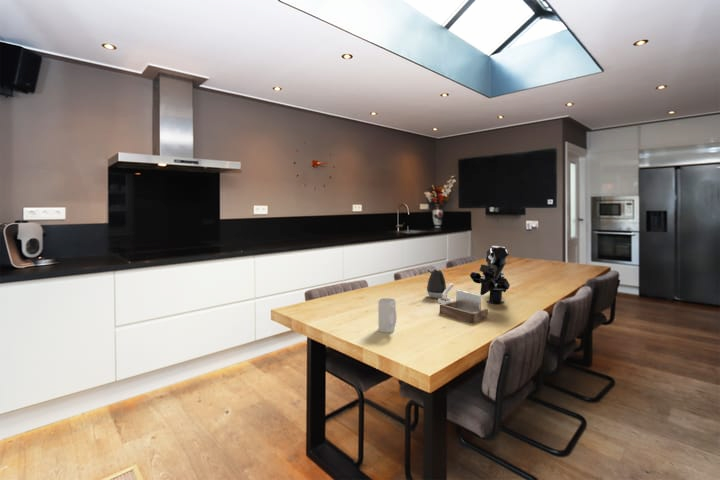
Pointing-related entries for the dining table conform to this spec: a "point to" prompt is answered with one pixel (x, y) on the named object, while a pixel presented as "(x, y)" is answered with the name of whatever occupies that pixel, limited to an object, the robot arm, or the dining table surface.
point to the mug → (386, 315)
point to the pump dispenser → (436, 284)
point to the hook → (445, 295)
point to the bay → (462, 313)
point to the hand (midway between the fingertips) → (481, 294)
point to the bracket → (468, 301)
